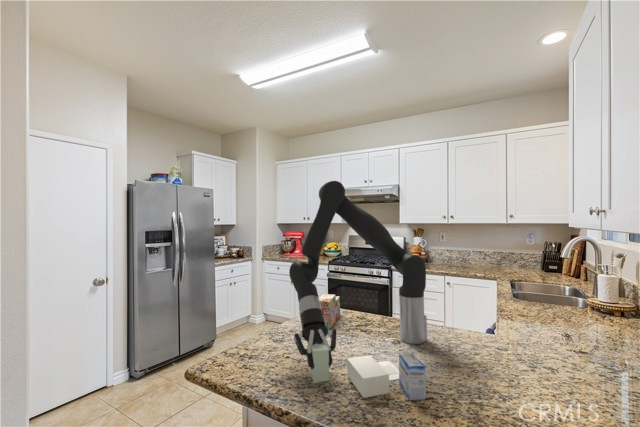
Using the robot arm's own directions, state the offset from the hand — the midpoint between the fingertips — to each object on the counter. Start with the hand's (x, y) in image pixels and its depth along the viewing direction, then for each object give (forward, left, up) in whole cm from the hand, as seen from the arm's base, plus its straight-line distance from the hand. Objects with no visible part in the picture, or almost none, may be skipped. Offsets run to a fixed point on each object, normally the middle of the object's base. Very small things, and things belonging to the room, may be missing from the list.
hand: (321, 366), depth 86 cm
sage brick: (0, -2, -4) cm, 5 cm away
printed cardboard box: (-18, -50, -4) cm, 53 cm away
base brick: (-12, +5, -4) cm, 14 cm away
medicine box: (-22, +12, -4) cm, 26 cm away
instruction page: (-21, 0, -4) cm, 21 cm away
